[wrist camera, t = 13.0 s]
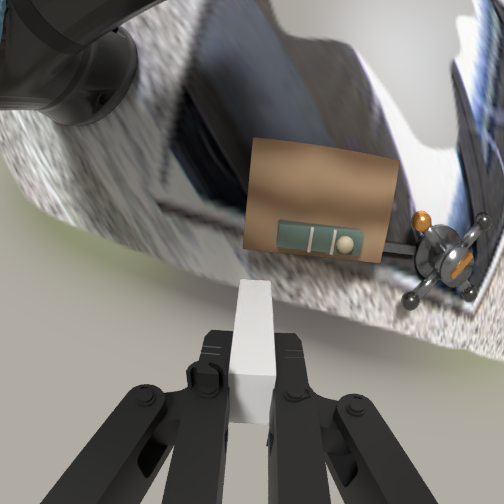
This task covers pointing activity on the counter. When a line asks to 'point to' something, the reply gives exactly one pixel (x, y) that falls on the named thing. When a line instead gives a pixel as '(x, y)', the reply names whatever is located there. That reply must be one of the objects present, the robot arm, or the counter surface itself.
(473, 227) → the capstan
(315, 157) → the stand
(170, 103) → the counter surface
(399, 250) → the cam foot
